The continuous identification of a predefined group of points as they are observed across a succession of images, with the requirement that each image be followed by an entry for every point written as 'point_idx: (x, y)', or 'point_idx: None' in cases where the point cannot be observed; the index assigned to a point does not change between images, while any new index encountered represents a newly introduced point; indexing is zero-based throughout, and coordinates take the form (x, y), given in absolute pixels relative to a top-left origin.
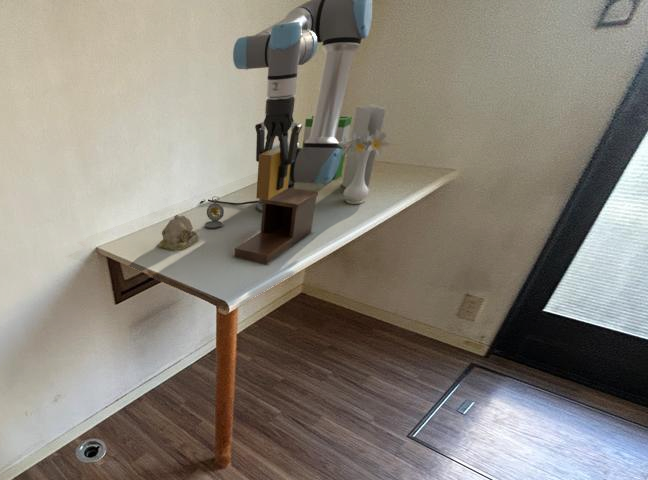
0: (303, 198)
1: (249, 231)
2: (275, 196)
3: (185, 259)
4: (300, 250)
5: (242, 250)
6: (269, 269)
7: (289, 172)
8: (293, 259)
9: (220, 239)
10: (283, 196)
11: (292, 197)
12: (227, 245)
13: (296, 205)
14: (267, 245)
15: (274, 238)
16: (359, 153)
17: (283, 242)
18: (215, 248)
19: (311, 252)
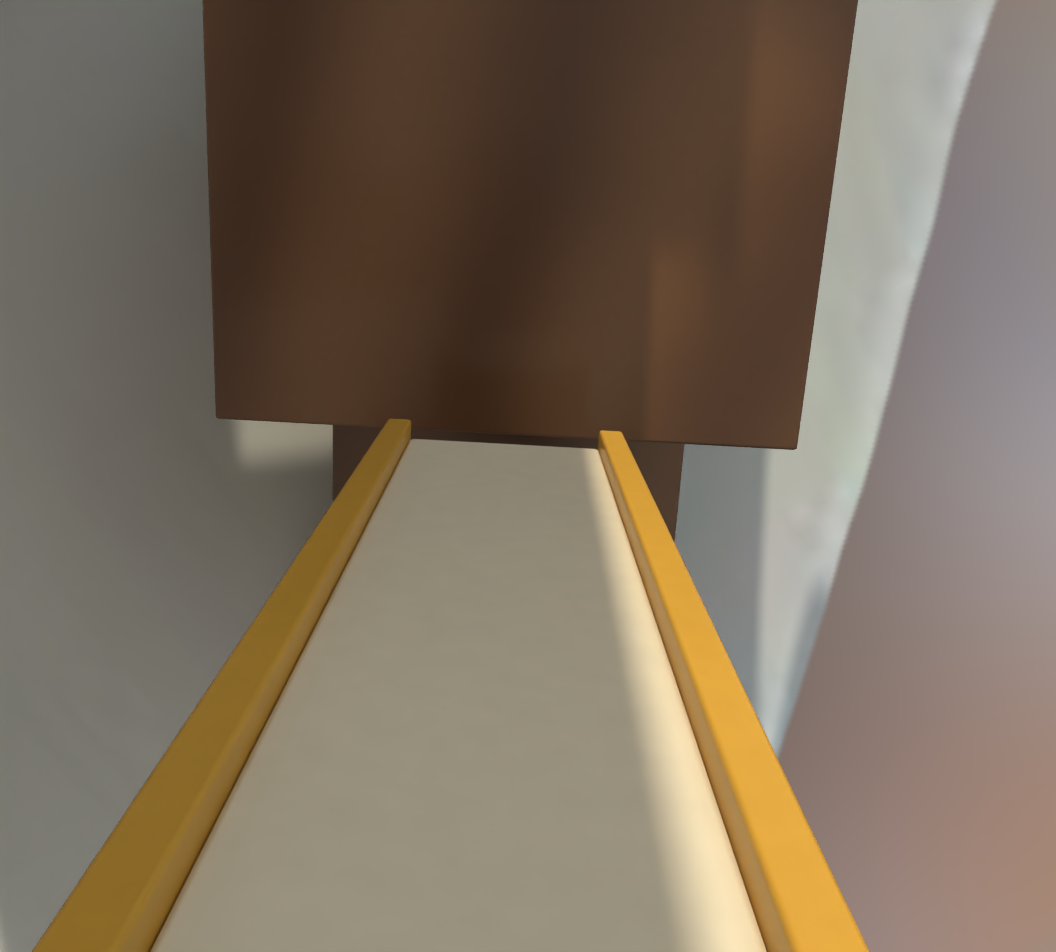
0: (786, 158)
1: (126, 159)
2: (334, 216)
3: (48, 917)
4: None
5: None
6: None
7: (661, 520)
8: (785, 577)
9: (11, 471)
10: (451, 170)
11: (606, 171)
12: (157, 562)
13: (777, 444)
14: None
15: (538, 445)
16: None
17: (655, 496)
18: (108, 658)
19: (873, 388)
